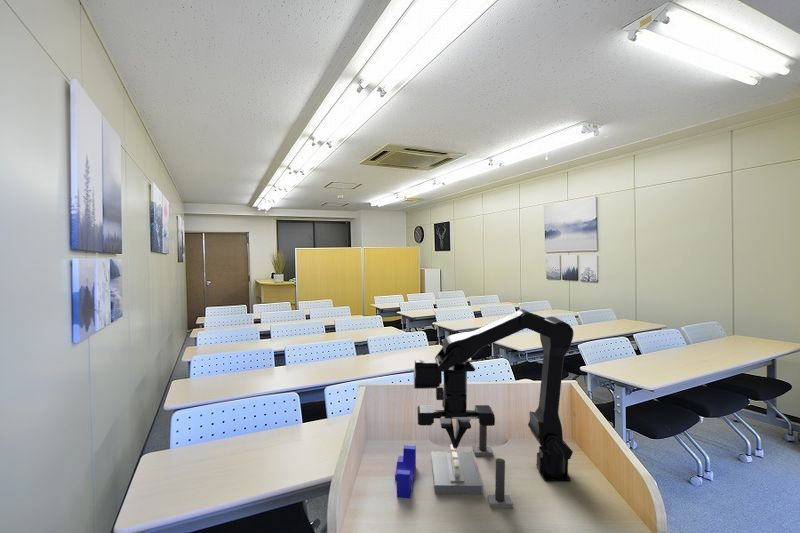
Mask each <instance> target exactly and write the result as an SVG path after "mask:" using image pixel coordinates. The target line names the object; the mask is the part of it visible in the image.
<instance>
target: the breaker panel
mask: <svg viewBox="0 0 800 533" xmlns="http://www.w3.org/2000/svg"><path fill="white" fill-rule="evenodd" d="M456 452H457V456H458V461H459V466H460V475H459V478H456V477H455V476H454V471H453V465H452V459H451V455H450V451H430V453H431V455H430V458H431V470H432V478H433V490H434V494H446V495H447V494H448V495H449V494H453V495H454V494H455V495H456V494H458V495H460V494H461V495H463V494H465V495H468V494H469V495H472V494H473V495H482V494H483V493H482V492H483V491H482V490H483V489H482V486H483V485H482V482H481V481H482V480H481V478H480V475H479V471H478V468H477V464H476V462H475V457H474V453H473V451H456Z"/></svg>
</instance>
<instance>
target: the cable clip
mask: <svg viewBox="0 0 800 533" xmlns="http://www.w3.org/2000/svg"><path fill="white" fill-rule="evenodd" d="M416 447H417V446H416V445H408V444H407V445H406V444H405V445H403V452H402V454H403V455H398V457H397V460H396V467H395V474H394V481H396V498H399V499H408V500H409V499H411V494H412V488H413V484H414V480H415V479H414V478H415V473H416V468H417V454H416V453H417V450H416V449H417V448H416Z"/></svg>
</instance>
